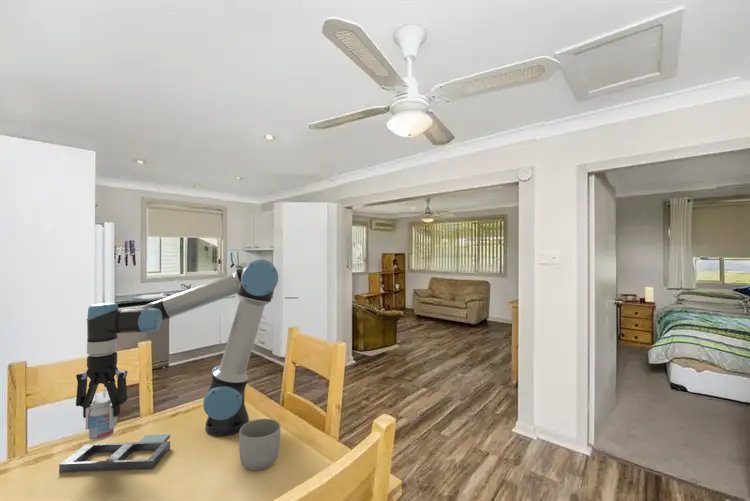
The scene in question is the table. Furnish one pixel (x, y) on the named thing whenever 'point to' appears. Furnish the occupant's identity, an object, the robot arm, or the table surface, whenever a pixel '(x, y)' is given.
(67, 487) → the table surface
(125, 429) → the table surface
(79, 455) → the rack frame
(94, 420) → the pill bottle
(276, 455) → the planter
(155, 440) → the coaster
